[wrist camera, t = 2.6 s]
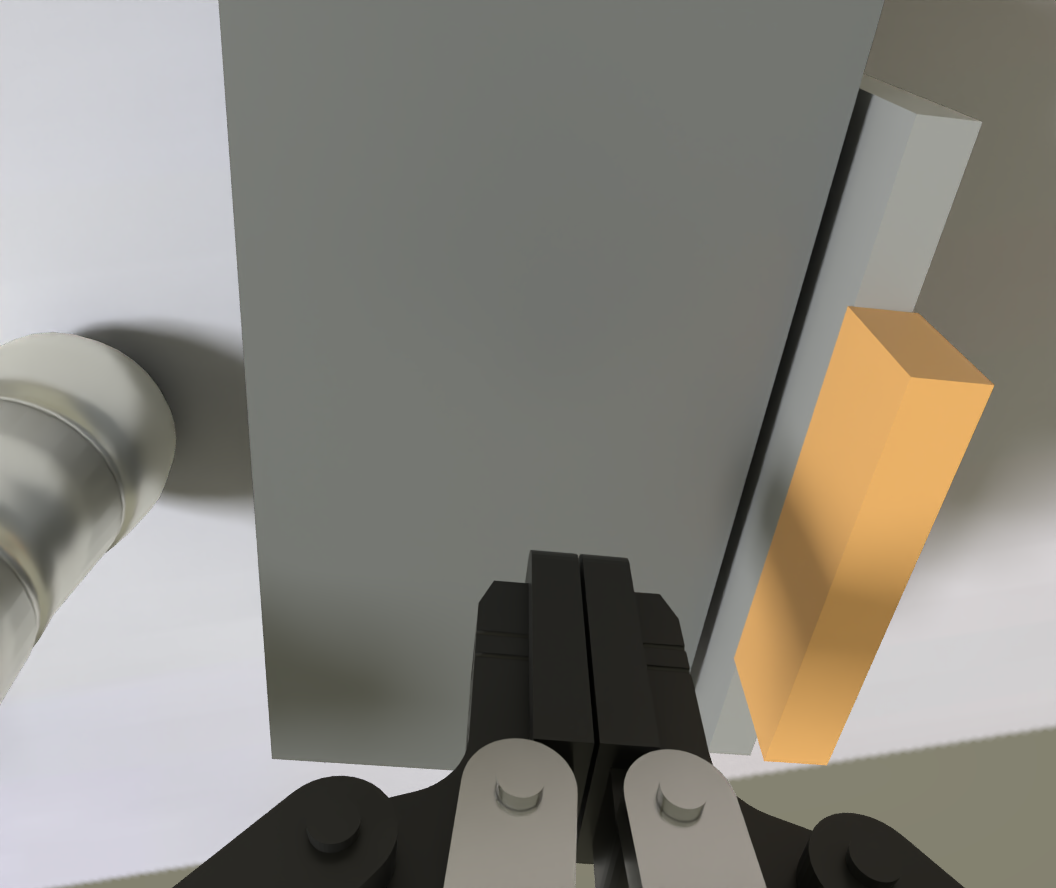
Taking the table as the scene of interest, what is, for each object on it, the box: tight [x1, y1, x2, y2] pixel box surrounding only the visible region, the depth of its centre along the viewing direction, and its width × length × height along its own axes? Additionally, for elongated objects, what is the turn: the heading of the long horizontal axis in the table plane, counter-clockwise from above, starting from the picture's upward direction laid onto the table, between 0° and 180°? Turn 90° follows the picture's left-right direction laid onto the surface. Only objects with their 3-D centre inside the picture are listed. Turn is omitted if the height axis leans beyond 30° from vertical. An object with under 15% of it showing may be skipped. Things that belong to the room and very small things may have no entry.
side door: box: [690, 74, 994, 765], centre depth 19 cm, size 14×1×13 cm, turn 174°
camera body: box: [219, 0, 885, 770], centre depth 20 cm, size 22×10×10 cm, turn 174°
